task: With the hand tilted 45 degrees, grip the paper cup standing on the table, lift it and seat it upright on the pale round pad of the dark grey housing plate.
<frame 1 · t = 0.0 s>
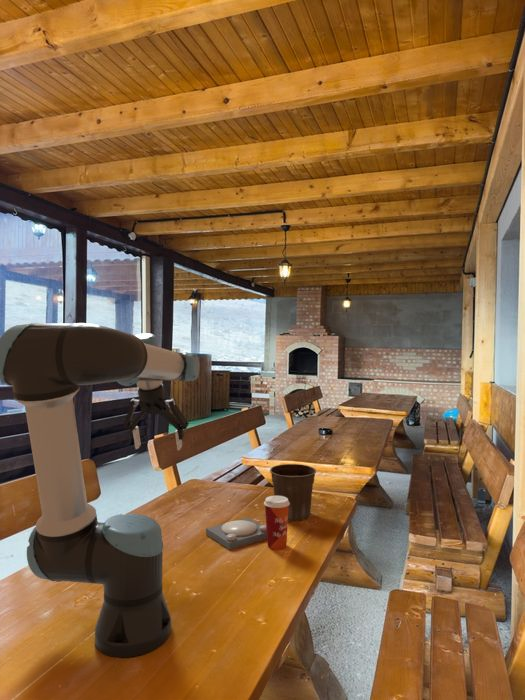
hand: (158, 447, 147), 28 cm above the table, tool tilted 20°, fingers open, 13 cm apart
plant pot: (293, 516, 165), on the table
paper cup: (277, 546, 140), on the table
filter housing base: (239, 535, 147), on the table
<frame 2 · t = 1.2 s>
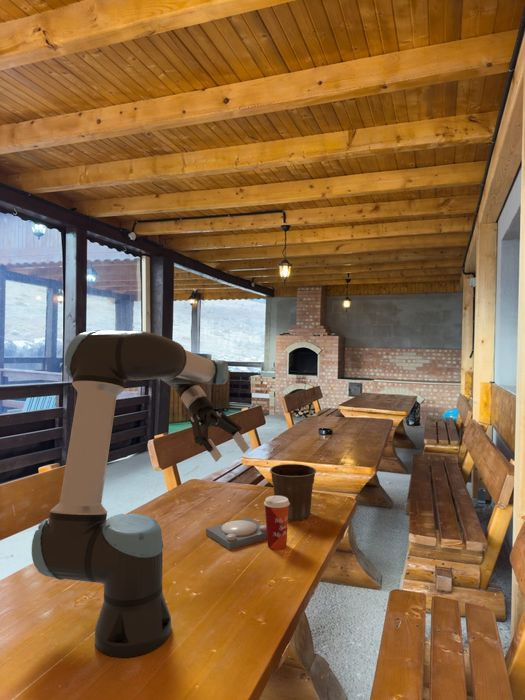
hand: (233, 454, 146), 26 cm above the table, tool tilted 45°, fingers open, 13 cm apart
nothing on the table moved.
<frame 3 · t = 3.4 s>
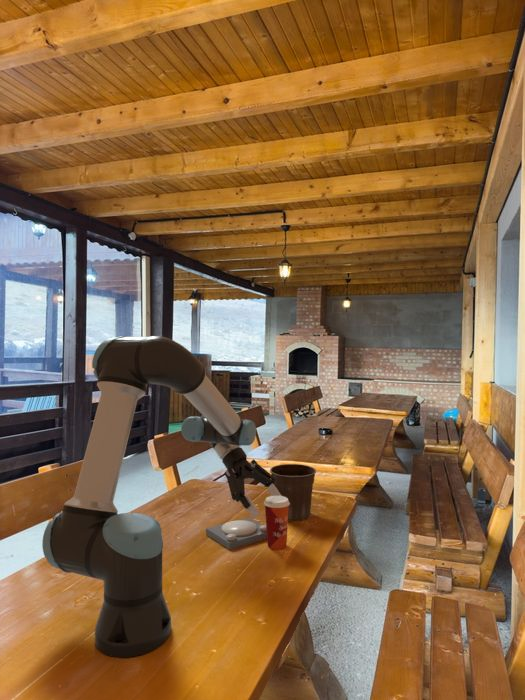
hand: (269, 509, 142), 10 cm above the table, tool tilted 45°, fingers open, 13 cm apart
nothing on the table moved.
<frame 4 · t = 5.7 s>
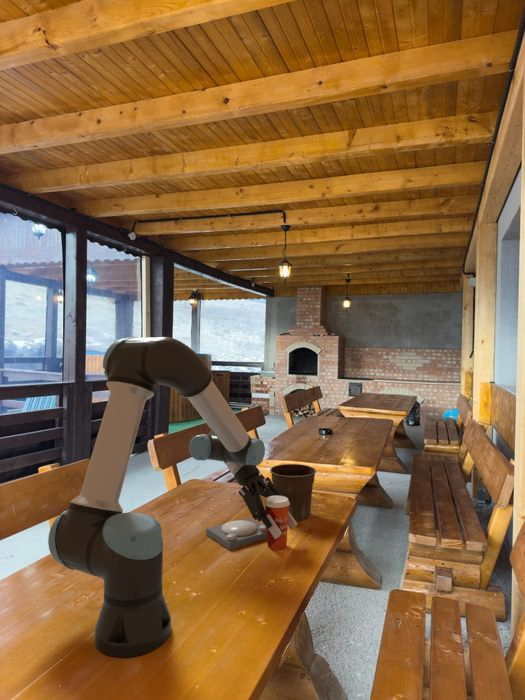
hand: (286, 531, 138), 5 cm above the table, tool tilted 45°, fingers closed on paper cup, 8 cm apart
paper cup: (277, 546, 140), on the table, touching gripper
everything else where it was.
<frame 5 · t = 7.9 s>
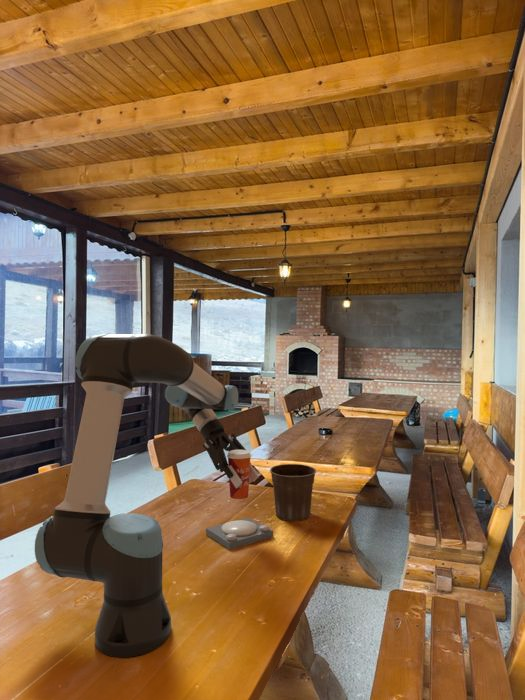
hand: (247, 482, 145), 17 cm above the table, tool tilted 45°, fingers closed on paper cup, 8 cm apart
paper cup: (239, 496, 147), point 12 cm above the table, touching gripper
everything else where it was.
when the fingers open (9 cm above the table, at t = 10.1 s): paper cup drops 1 cm, resting on filter housing base.
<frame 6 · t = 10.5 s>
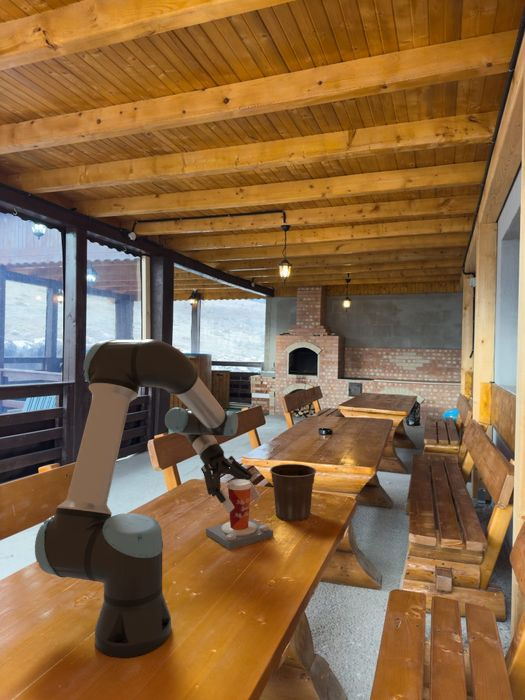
hand: (245, 504, 146), 10 cm above the table, tool tilted 45°, fingers open, 13 cm apart
paper cup: (239, 527, 147), point 3 cm above the table, touching filter housing base
everything else where it was.
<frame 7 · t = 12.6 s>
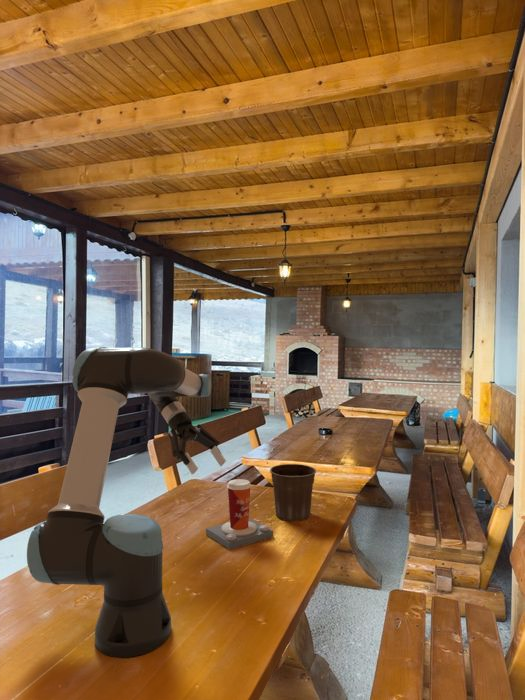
hand: (209, 467, 153), 20 cm above the table, tool tilted 45°, fingers open, 13 cm apart
nothing on the table moved.
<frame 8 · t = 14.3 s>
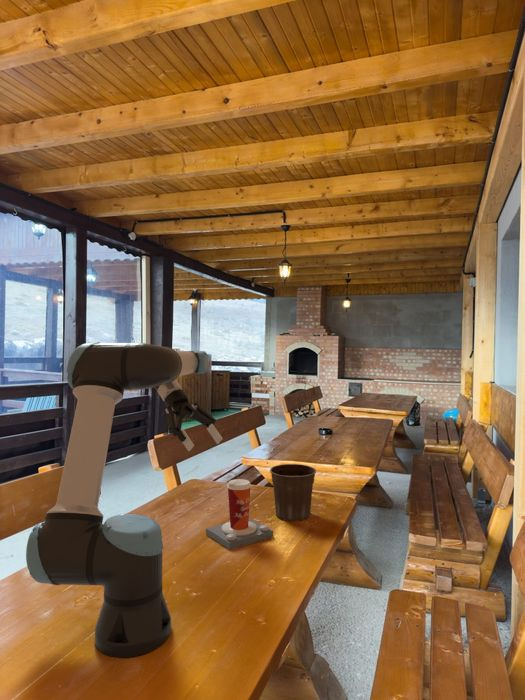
hand: (206, 444, 152), 28 cm above the table, tool tilted 45°, fingers open, 13 cm apart
nothing on the table moved.
at the end: paper cup inside the target area on the filter housing base (0.2 cm from its centre), point 2.6 cm above the filter housing base's base; paper cup tilted 0°; the gripper is holding nothing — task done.
